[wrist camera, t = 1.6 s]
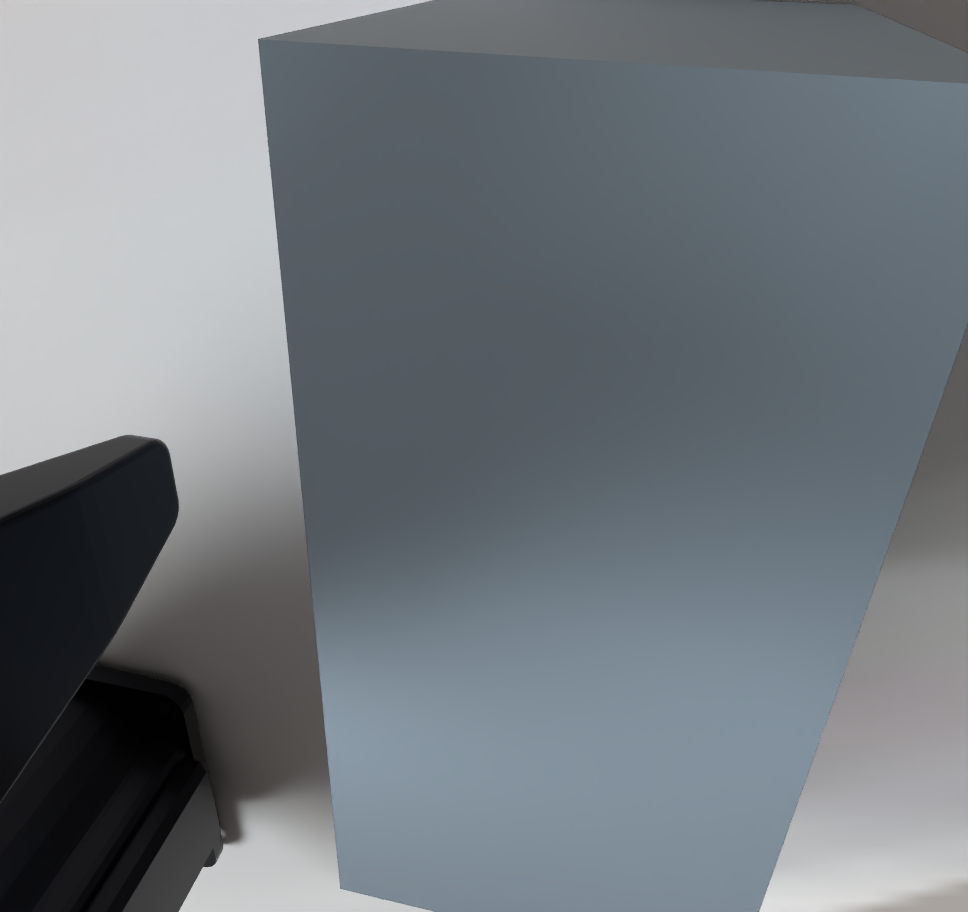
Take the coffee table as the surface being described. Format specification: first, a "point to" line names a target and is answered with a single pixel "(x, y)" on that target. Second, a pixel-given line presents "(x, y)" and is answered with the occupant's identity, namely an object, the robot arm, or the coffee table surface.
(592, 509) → the key block
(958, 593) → the coffee table surface
